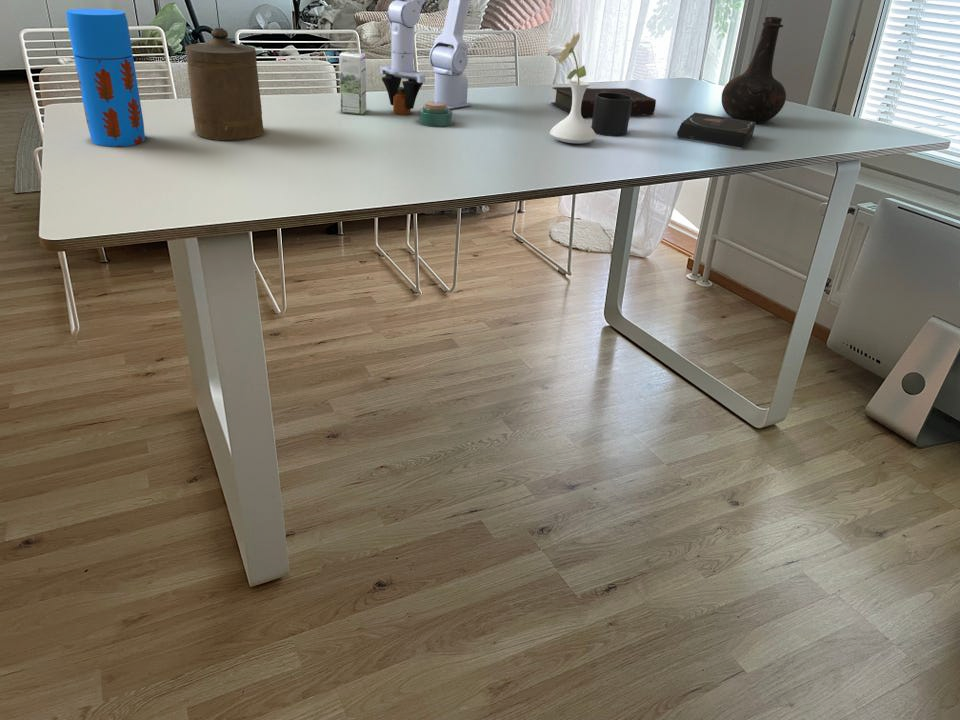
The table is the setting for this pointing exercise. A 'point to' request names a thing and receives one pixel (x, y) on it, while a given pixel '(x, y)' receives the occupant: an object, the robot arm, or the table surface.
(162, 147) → the table surface
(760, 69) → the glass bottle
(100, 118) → the thermos
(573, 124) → the flower in vase
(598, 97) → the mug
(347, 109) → the syrup box
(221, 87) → the wooden container
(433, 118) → the green round container
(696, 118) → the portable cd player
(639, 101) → the diary
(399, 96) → the amber bottle
